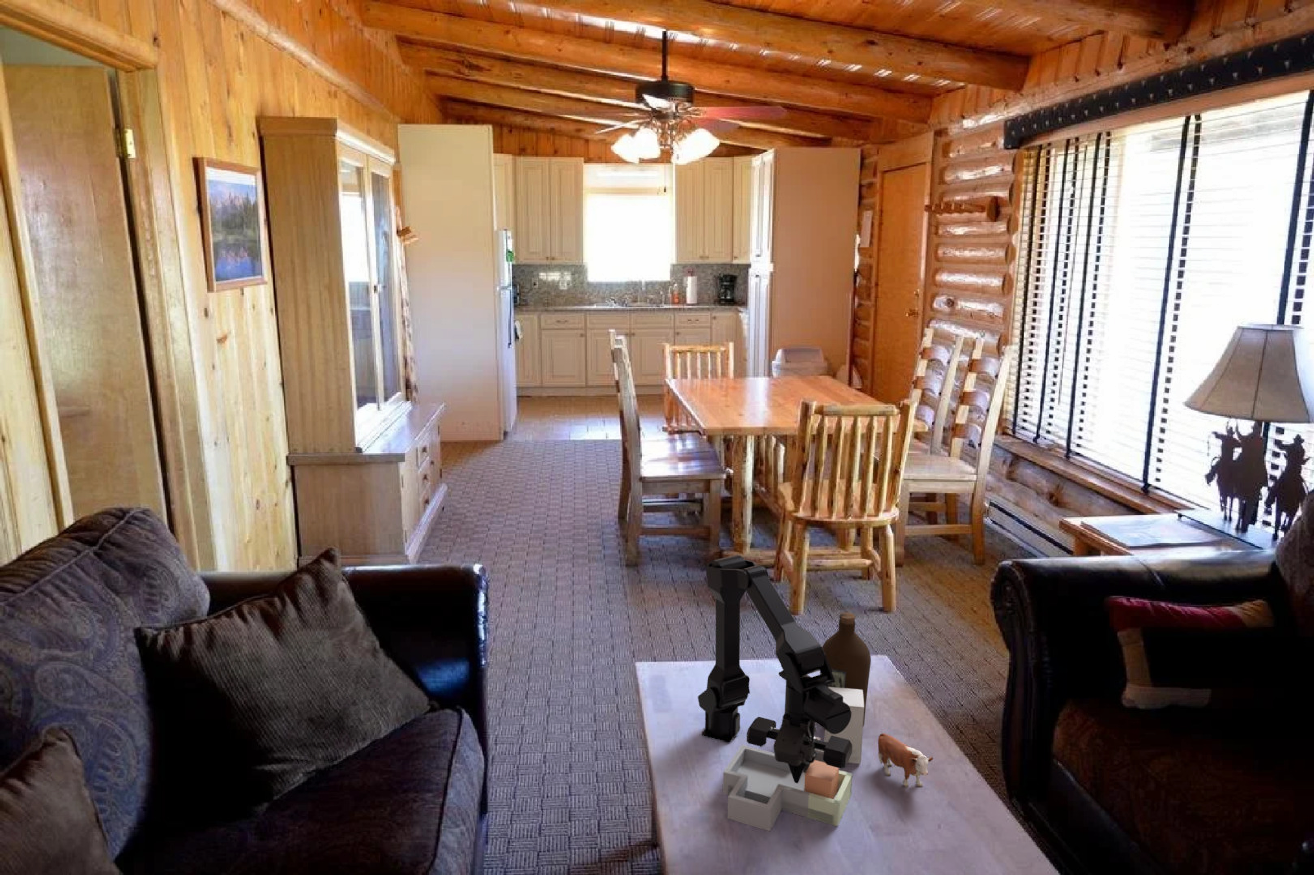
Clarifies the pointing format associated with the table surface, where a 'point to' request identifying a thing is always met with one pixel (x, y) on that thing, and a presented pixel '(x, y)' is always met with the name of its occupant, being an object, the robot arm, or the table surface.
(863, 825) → the table surface
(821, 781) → the block
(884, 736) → the bull figurine
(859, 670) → the olive oil
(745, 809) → the trap lane
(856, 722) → the supplement box
